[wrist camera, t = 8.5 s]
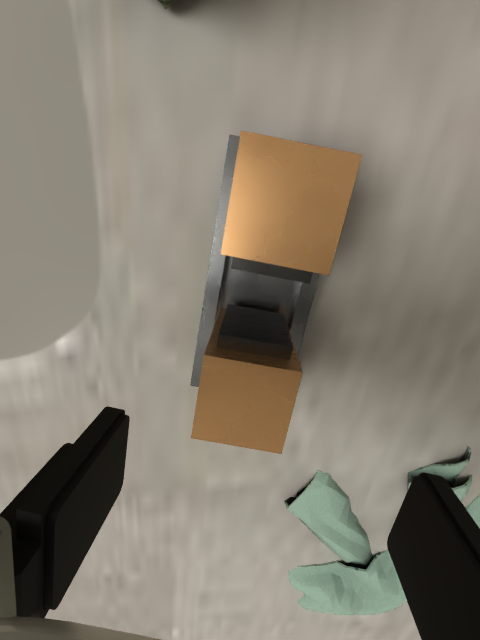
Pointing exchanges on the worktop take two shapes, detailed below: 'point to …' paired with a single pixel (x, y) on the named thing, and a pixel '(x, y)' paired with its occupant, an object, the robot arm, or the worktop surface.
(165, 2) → the pouch
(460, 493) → the cloth
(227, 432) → the tan wooden block
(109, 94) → the worktop surface
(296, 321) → the rail
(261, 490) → the worktop surface
